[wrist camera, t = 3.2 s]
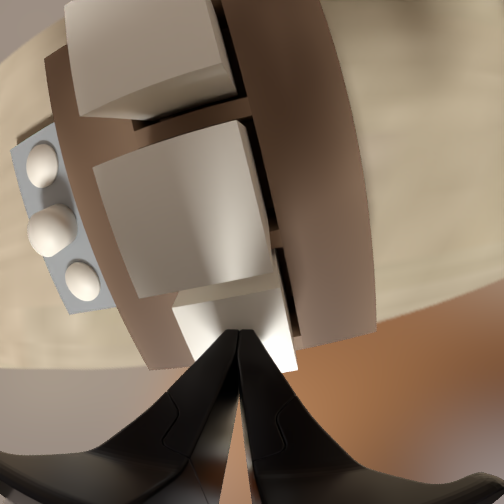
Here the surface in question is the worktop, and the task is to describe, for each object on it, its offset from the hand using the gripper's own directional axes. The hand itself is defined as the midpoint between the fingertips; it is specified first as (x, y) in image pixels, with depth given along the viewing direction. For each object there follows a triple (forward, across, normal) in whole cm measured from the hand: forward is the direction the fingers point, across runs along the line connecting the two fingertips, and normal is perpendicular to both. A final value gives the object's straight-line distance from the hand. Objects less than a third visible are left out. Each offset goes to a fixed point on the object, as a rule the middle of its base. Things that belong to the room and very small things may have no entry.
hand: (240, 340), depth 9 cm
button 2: (+5, 0, 0) cm, 5 cm away
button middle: (+3, +1, -4) cm, 6 cm away
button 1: (+3, +2, -9) cm, 9 cm away
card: (+6, +9, -2) cm, 11 cm away
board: (+6, +1, -4) cm, 7 cm away
